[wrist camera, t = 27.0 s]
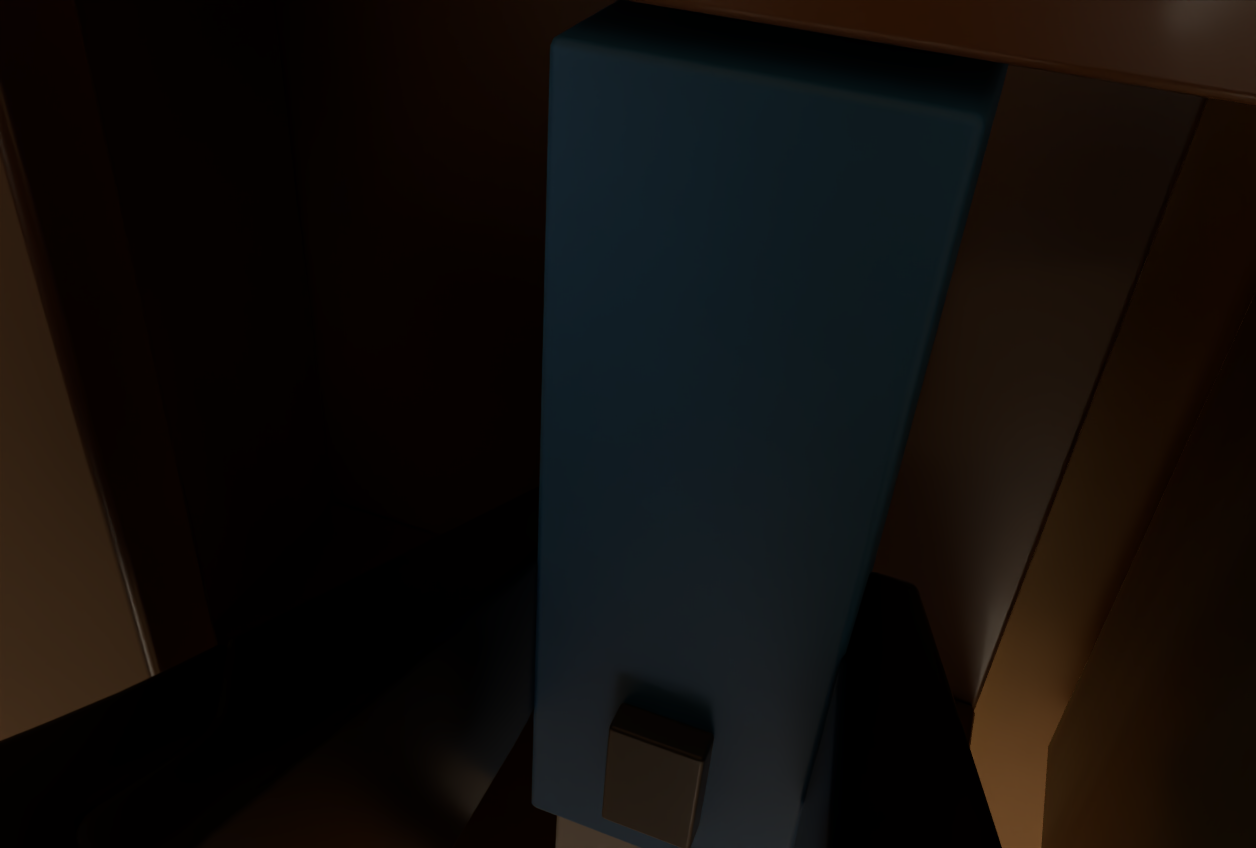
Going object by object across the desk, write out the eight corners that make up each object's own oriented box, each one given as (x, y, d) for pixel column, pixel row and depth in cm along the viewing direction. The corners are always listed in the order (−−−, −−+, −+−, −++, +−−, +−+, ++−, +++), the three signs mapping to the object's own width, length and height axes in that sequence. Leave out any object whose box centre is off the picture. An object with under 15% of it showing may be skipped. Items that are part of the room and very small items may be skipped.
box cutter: (683, -44, 8) (522, 49, 6) (1023, 8, 7) (981, 136, 5) (609, 776, 13) (512, 976, 11) (798, 845, 13) (733, 1072, 11)
